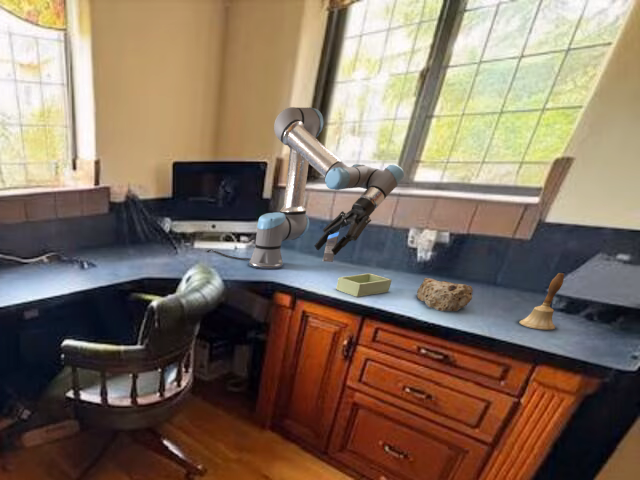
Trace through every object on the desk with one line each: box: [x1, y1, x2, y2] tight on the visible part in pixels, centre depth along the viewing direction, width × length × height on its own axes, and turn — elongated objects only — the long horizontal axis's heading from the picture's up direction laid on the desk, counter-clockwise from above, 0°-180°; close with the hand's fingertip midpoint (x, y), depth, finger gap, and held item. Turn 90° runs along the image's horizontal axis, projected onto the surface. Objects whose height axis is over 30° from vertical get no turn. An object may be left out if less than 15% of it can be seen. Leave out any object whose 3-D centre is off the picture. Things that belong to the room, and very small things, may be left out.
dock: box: [335, 273, 392, 298], centre depth 163 cm, size 11×16×5 cm
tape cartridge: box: [322, 227, 342, 263], centre depth 163 cm, size 9×4×12 cm, turn 154°
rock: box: [416, 277, 474, 312], centre depth 147 cm, size 21×14×10 cm
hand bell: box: [519, 272, 565, 331], centre depth 125 cm, size 8×8×16 cm
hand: (324, 250), depth 164 cm, fingers closed on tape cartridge, 8 cm apart
